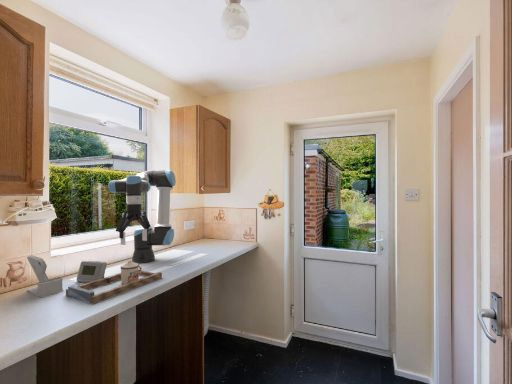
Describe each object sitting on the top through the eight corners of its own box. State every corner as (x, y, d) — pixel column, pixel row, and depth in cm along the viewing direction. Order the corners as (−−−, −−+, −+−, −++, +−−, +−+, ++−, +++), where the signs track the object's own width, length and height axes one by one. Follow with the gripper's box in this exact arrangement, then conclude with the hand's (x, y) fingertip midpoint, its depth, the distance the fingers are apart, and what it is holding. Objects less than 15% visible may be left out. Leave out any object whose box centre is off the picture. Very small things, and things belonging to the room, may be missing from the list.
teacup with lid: (128, 285, 140) (128, 263, 140) (116, 283, 144) (116, 261, 144) (147, 278, 151) (146, 258, 151) (135, 276, 155) (135, 256, 155)
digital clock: (74, 281, 147) (74, 262, 147) (90, 277, 156) (90, 258, 156) (94, 285, 141) (94, 265, 141) (110, 280, 149) (110, 261, 149)
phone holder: (64, 291, 134) (64, 254, 134) (40, 298, 126) (39, 259, 125) (49, 284, 143) (49, 250, 143) (25, 290, 135) (25, 254, 135)
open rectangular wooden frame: (136, 272, 162) (136, 265, 162) (161, 277, 152) (161, 269, 152) (65, 295, 128) (65, 286, 128) (92, 304, 118) (92, 293, 118)
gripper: (117, 204, 135) (117, 247, 135) (156, 202, 157) (157, 239, 157) (107, 204, 138) (108, 245, 138) (147, 202, 161) (148, 238, 160)
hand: (134, 242), depth 148 cm, fingers open, 13 cm apart
